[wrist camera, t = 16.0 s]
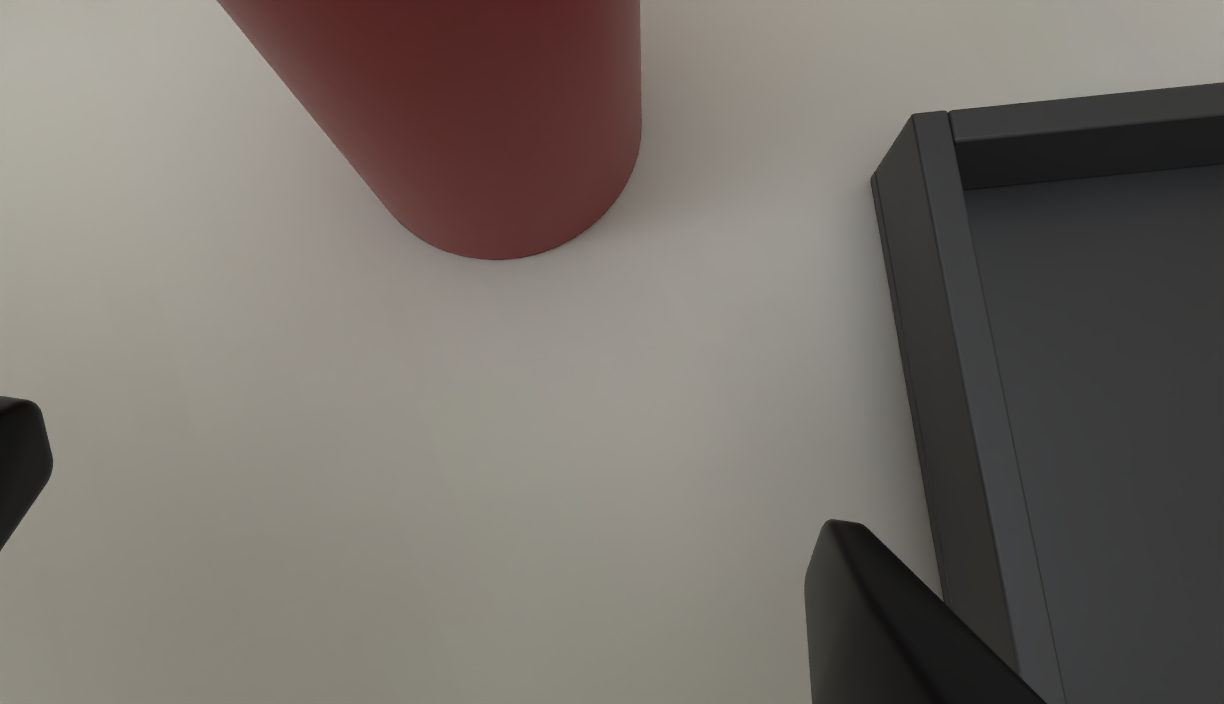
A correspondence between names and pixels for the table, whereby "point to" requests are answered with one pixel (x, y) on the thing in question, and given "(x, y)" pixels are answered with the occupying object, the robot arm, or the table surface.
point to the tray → (1071, 381)
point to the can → (468, 108)
